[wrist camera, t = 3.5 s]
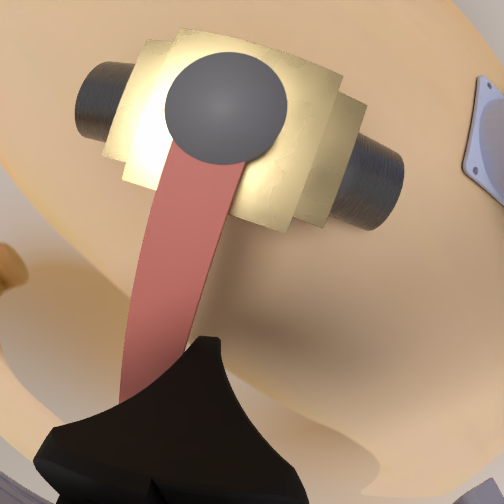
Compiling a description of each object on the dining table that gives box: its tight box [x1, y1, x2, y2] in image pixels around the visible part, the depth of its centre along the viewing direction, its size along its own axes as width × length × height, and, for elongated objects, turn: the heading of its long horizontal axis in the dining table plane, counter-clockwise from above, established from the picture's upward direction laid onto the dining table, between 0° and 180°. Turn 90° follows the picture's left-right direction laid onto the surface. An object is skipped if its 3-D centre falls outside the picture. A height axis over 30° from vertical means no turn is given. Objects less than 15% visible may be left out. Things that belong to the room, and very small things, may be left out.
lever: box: [119, 52, 287, 404], centre depth 8 cm, size 3×14×1 cm, turn 160°
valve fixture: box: [75, 28, 404, 234], centre depth 10 cm, size 14×6×6 cm, turn 70°
